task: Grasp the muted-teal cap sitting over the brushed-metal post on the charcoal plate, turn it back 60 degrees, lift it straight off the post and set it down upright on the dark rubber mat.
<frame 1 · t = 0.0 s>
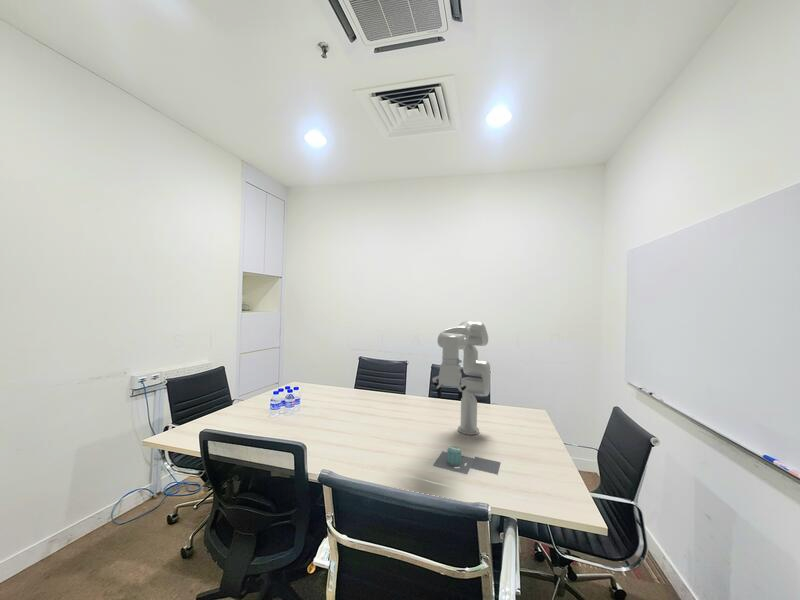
hand: (449, 398, 145), 31 cm above the table, fingers open, 9 cm apart
cap: (453, 461, 146), resting on post plate
post plate: (453, 463, 146), on the table
mat: (485, 466, 144), on the table
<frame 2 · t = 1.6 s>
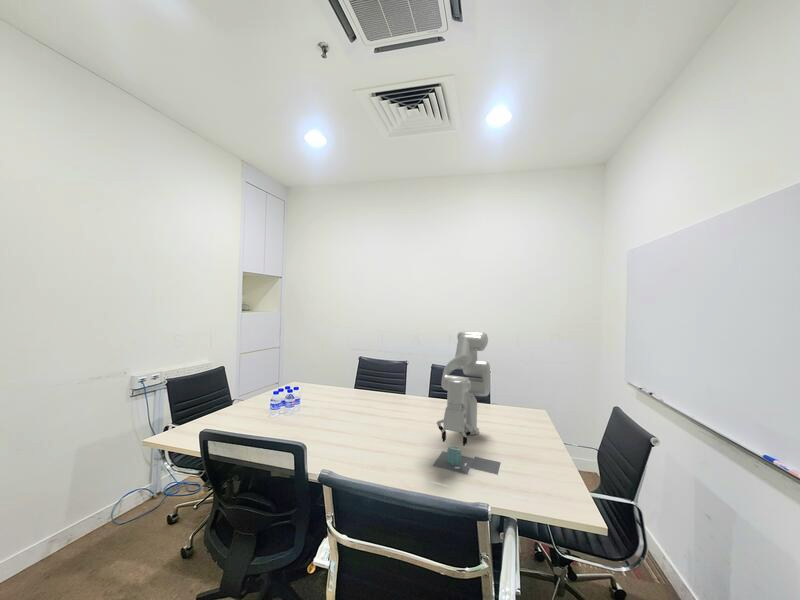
hand: (454, 442, 146), 10 cm above the table, fingers open, 9 cm apart
nothing on the table moved.
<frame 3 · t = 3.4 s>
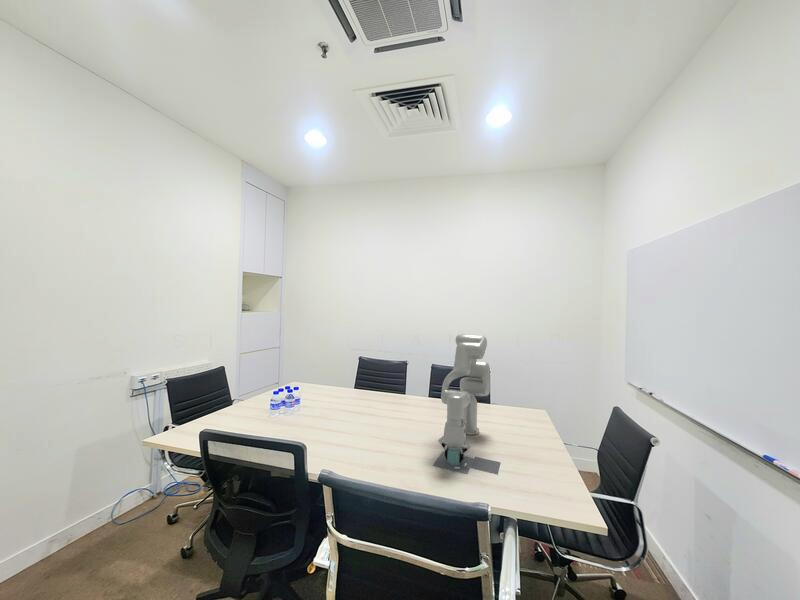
hand: (454, 459, 147), 2 cm above the table, fingers closed on cap, 6 cm apart
cap: (453, 461, 146), point 1 cm above the table, touching gripper, post plate
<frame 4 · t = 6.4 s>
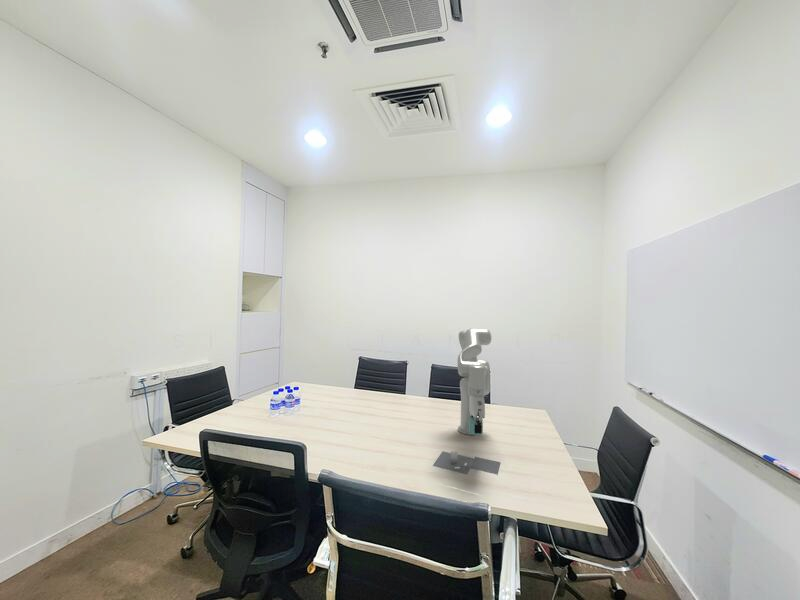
hand: (475, 429, 145), 16 cm above the table, fingers closed on cap, 6 cm apart
cap: (475, 432, 145), point 15 cm above the table, touching gripper
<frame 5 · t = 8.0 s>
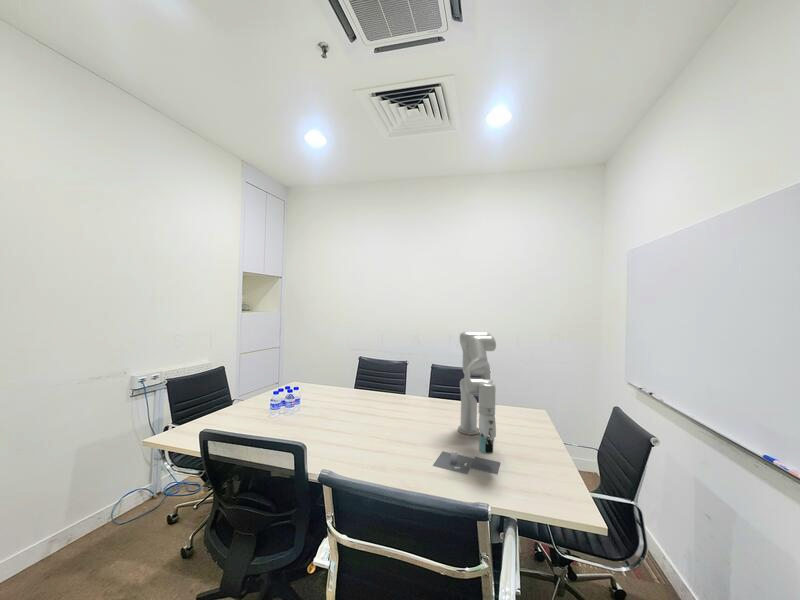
hand: (486, 448, 144), 8 cm above the table, fingers closed on cap, 6 cm apart
cap: (486, 451, 144), point 7 cm above the table, touching gripper
when the fingers open (4 cm above the table, at t = 9.5 s): cap drops 2 cm, resting on mat.
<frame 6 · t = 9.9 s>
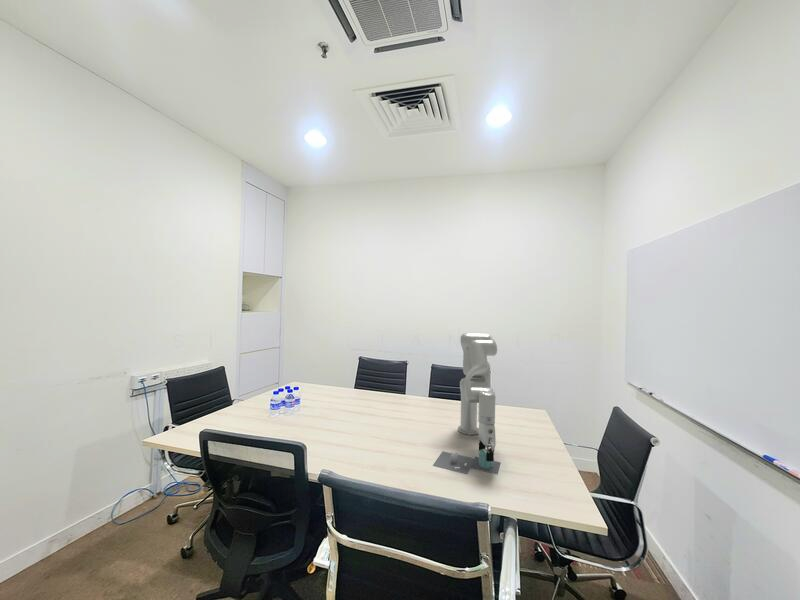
hand: (485, 455, 144), 5 cm above the table, fingers open, 9 cm apart
cap: (485, 465, 144), resting on mat
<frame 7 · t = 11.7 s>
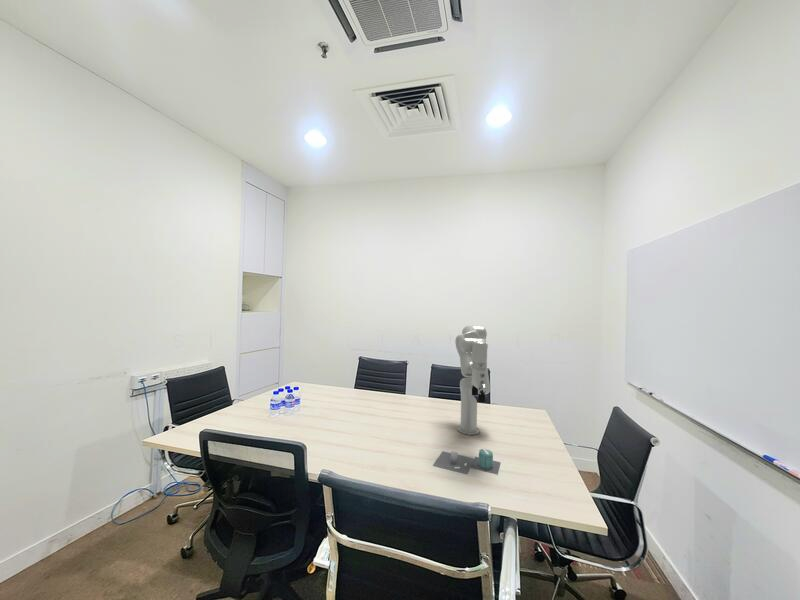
hand: (478, 398, 159), 27 cm above the table, fingers open, 9 cm apart
nothing on the table moved.
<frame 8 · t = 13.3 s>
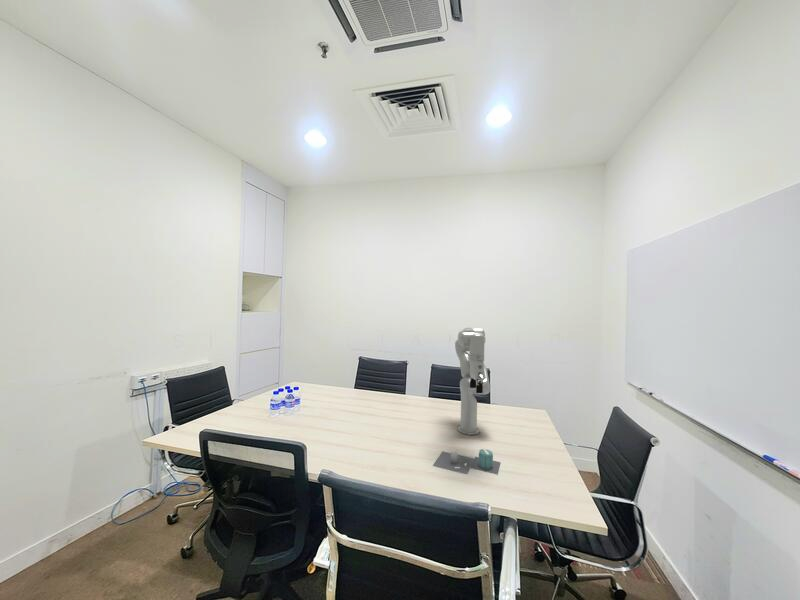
hand: (476, 390, 163), 30 cm above the table, fingers open, 9 cm apart
nothing on the table moved.
at the end: cap inside the target area on the mat (0.0 cm from its centre), point 0.5 cm above the mat's base; cap tilted 0°; cap touching mat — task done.
